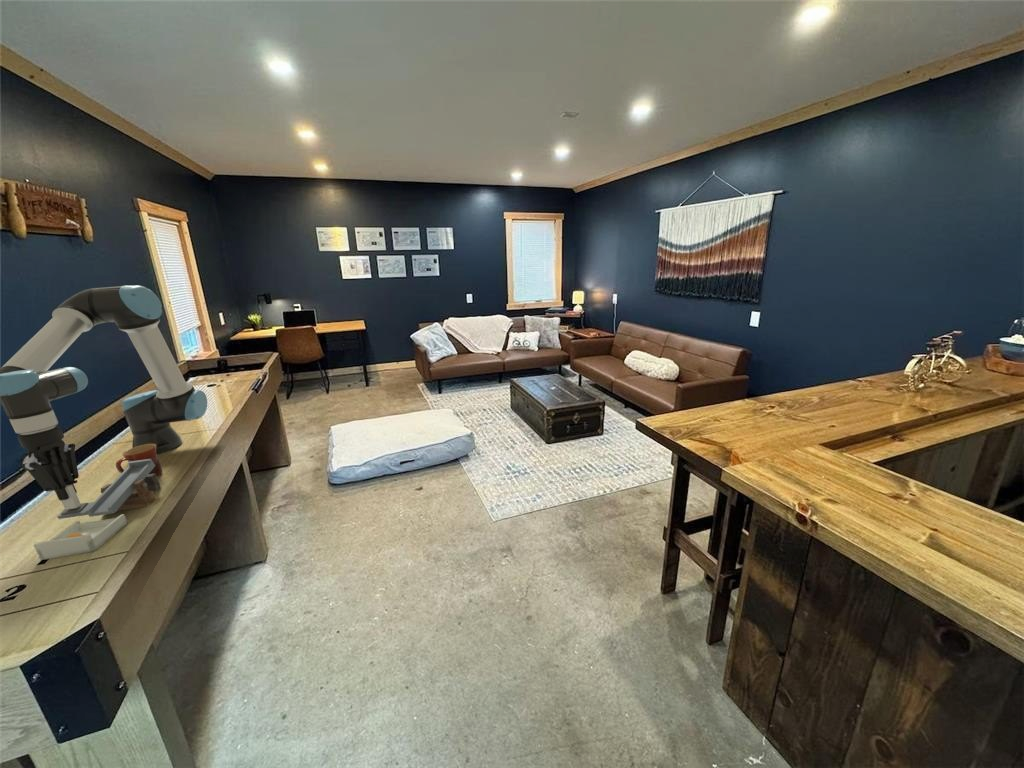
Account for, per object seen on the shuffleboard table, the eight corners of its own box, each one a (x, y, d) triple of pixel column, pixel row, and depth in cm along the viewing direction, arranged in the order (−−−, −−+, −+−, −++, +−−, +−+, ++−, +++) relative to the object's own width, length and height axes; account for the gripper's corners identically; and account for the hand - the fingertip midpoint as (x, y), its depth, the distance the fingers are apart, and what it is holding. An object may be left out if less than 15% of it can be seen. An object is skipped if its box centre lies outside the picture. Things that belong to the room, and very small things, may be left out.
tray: (80, 530, 109) (73, 516, 108) (127, 523, 111) (122, 509, 110) (41, 559, 98) (33, 544, 97) (94, 551, 100) (87, 536, 99)
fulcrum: (132, 491, 128) (124, 471, 126) (171, 486, 130) (164, 465, 128) (104, 512, 117) (95, 490, 115) (148, 506, 119) (139, 484, 117)
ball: (57, 543, 99) (66, 551, 101) (73, 541, 99) (82, 548, 101) (66, 531, 101) (75, 539, 103) (81, 529, 102) (90, 536, 104)
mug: (152, 469, 143) (143, 443, 140) (172, 469, 141) (162, 443, 138) (115, 487, 132) (103, 459, 129) (135, 488, 130) (124, 460, 127)
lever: (105, 472, 125) (100, 465, 124) (155, 465, 128) (151, 458, 126) (56, 521, 108) (49, 514, 107) (114, 513, 111) (108, 505, 109)
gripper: (44, 422, 109) (77, 496, 116) (-5, 441, 97) (35, 523, 104) (76, 418, 110) (106, 492, 117) (30, 437, 98) (68, 518, 105)
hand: (73, 507), depth 110 cm, fingers closed
